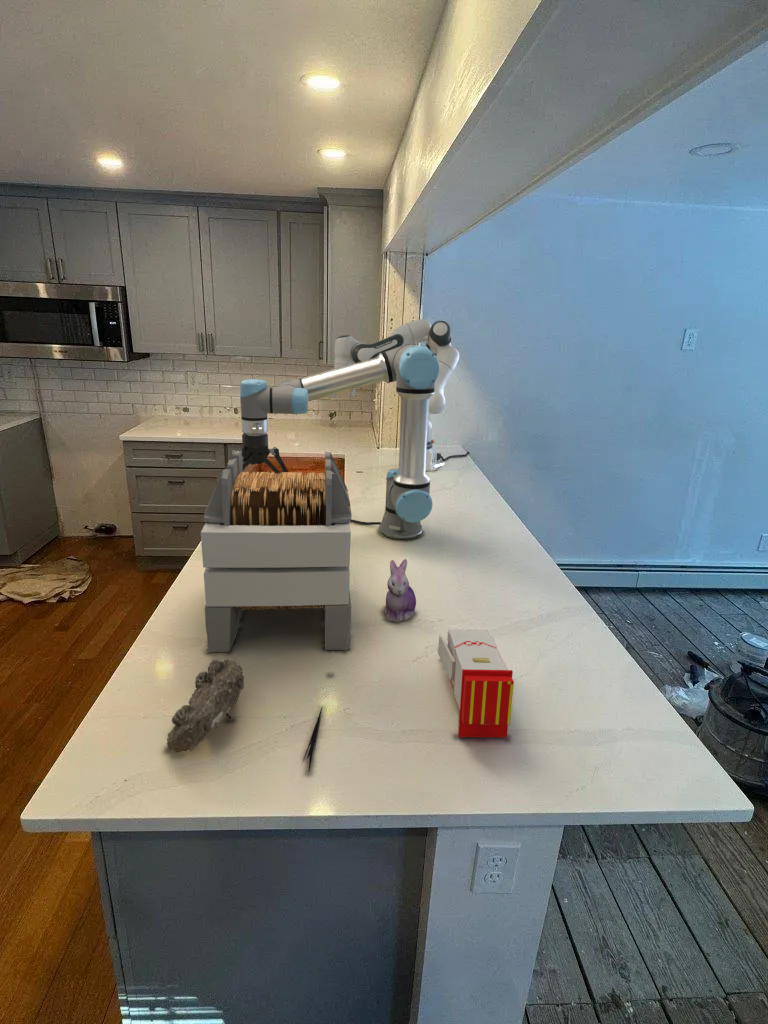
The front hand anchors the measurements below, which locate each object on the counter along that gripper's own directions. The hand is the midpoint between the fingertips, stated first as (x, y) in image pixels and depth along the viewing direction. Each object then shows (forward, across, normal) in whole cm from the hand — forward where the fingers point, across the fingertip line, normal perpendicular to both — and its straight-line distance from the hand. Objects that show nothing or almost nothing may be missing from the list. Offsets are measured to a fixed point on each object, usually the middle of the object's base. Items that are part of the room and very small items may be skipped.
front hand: (257, 501), depth 175 cm
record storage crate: (+17, -4, -41) cm, 45 cm away
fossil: (+17, -28, -73) cm, 80 cm away
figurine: (+17, +24, -52) cm, 60 cm away
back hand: (-14, +70, +103) cm, 125 cm away
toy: (+17, +23, -86) cm, 90 cm away
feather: (+17, -9, -82) cm, 84 cm away
